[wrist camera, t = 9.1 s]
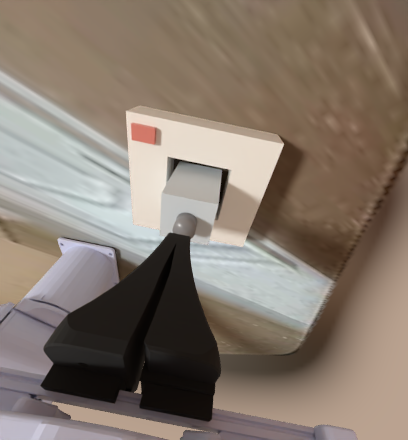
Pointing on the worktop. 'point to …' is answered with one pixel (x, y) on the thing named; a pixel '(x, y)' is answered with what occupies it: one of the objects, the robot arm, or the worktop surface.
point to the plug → (190, 202)
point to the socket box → (204, 154)
